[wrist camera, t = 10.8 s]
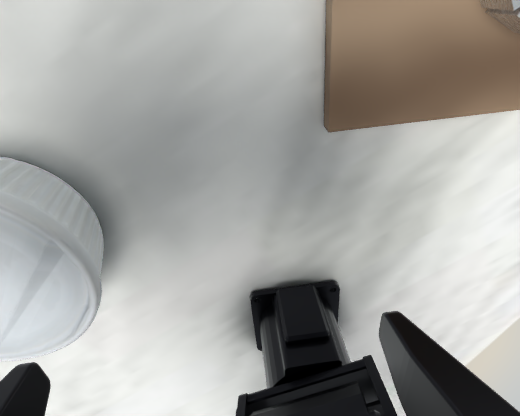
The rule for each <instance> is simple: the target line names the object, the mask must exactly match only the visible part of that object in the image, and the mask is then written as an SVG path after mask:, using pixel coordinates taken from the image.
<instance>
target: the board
mask: <svg viewBox="0 0 520 416" xmlns="http://www.w3.org/2000/svg"><path fill="white" fill-rule="evenodd" d="M487 9H488V8H482V6H481V2H480V0H326V44H325V94H324V126H325V128H326V129H327V131H328V132H335V131H344V130H352V129H361V128H369V127H378V126H386V125H394V124H403V123H411V122H420V121H428V120H437V119H445V118H454V117H462V116H470V115H479V114H487V113H496V112H504V111H513V110H520V34H519V33H514V32H513V31H511V30H510V29H509V28H507V27H506V26H504V25H503V24H501V23H500V22H498V21H497V20H496V19H494V18H493V17H491V16H490V15H488V14H487V13H485V12H486V10H487Z"/></svg>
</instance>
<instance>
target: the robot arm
mask: <svg viewBox="0 0 520 416" xmlns="http://www.w3.org/2000/svg"><path fill="white" fill-rule="evenodd" d="M339 292H340V288H339V285H338V283H337V282H335V281H328V282H321V283H314V284H306V285H299V286H292V287H284V288H277V289H270V290H262V291H256V292H253V293H252V294H251V295H250V300H251V307H252V314H253V321H254V328H255V335H256V342H257V348H258V350H260V351H263V359H264V367H265V375H266V383H267V389H264V390H261V391H258V392H255V393H251V394H247V393H246V394H243V395H240V396H239V398H238V407H237V410H236V416H397V414H396V411H395V409H394V407H393V404H392V402H391V400H390V397H389V395H388V393H387V391H386V388H385V386H384V384H383V381H382V379H381V377H380V374H379V372H378V370H377V368H376V365H375V363H374V361H373V358H372V356H371V355H368V356H365V357H363V359H361V360H358V361H354V362H351V361H350V359H349V356H348V353H347V350H346V347H345V344H344V341H343V339H342V336H341V333H340V330H339V327H338V308H339ZM256 298H258V299H256ZM379 338H380V342H381V345H382V348H383V351H384V354H385V357H386V360H387V363H388V366H389V370H390V373H391V376H392V379H393V382H394V385H395V388H396V391H397V394H398V397H399V399H400V402H401V404H402V407H403V409H404V411H405V413H406V416H520V412H518V411H517V410H516V409H515V408H514V407H513V406H512V405H510V404H509V403H508V402H507V401H506V400H504V399H503V398H502V397H501V396H500V395H498V394H497V393H496V392H494V390H492V389H491V388H490V387H489V386H488V385H486V384H485V383H484V382H483V381H482V380H480V379H479V378H478V377H477V376H476V375H474V374H473V373H472V372H471V371H470V370H469V369H467V368H466V367H465V366H464V365H463V364H461V363H460V362H459V361H458V360H457V359H455V358H454V357H453V356H452V355H451V354H449V353H448V352H447V351H446V350H445V349H443V348H442V347H441V346H440V345H439V344H437V343H436V342H435V341H434V340H433V339H431V338H430V337H429V336H428V335H427V334H425V333H424V332H423V331H422V330H421V329H420V328H418V327H417V326H416V325H415V324H414V323H412V322H411V321H410V320H409V319H408V318H406V317H405V316H404V315H403V314H402V313H400V312H398V311H392V312H385V313H383V314H382V317H381V323H380V328H379ZM49 392H50V380H49V378H48V377H47V375H46V374H45V373H44V371H43V370H42V369H41V367H40V366H39V365H38V364H37V363H35V362H32V363H25V364H20V365H18V366H16V367H15V368H14V369H12V370H11V371H10V372H9V373H8V374H7V375H6V376H5V377H4V378H3V379H2V380H1V381H0V416H45V411H46V407H47V402H48V397H49Z"/></svg>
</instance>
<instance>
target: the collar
mask: <svg viewBox="0 0 520 416" xmlns="http://www.w3.org/2000/svg"><path fill="white" fill-rule="evenodd" d="M480 2H481V6H482V8H488V9H487V10H486V12H485V13H487V14H488V15H490V16H491V17H493V18H494V19H496V20H497V21H498V22H500V23H501V24H503V25H504V26H506V27H507V28H509V29H510V30H511V31H513V32H514V33H519V34H520V0H480Z"/></svg>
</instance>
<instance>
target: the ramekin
mask: <svg viewBox="0 0 520 416" xmlns="http://www.w3.org/2000/svg"><path fill="white" fill-rule="evenodd" d="M103 253H104V239H103V235H102V229H101V226H100V224H99V220H98V218H97V216H96V214H95V212H94V210H93V209H92V208H91V206H90V204H89V203H88V202H87V201H86V200H85V199H84V198H83V197H82V195H81V194H79V193H78V192H77V191H76V190H75V189H74V188H73V187H71V186H70V185H69V184H67V183H66V182H65V181H63V180H62V179H60V178H59V177H57V176H55V175H53V174H52V173H50V172H48V171H46V170H44V169H42V168H39V167H37V166H34V165H31V164H28V163H26V162H23V161H18V160H15V159H12V158H7V157H0V361H15V360H23V359H29V358H34V357H39V356H42V355H46V354H49V353H52V352H54V351H57V350H59V349H61V348H63V347H65V346H67V345H69V344H71V343H72V342H74V341H75V340H77V339H78V338H79V337H80V336H81V335H82V334H83V333H84V332H85V331H86V330H87V329H88V328H89V326H90V325H91V323H92V322H93V320H94V318H95V316H96V313H97V310H98V308H99V305H100V301H101V293H102V287H101V279H100V275H101V269H102V261H103Z"/></svg>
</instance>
